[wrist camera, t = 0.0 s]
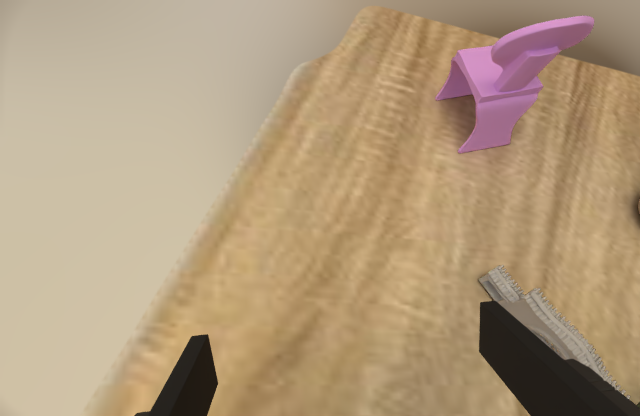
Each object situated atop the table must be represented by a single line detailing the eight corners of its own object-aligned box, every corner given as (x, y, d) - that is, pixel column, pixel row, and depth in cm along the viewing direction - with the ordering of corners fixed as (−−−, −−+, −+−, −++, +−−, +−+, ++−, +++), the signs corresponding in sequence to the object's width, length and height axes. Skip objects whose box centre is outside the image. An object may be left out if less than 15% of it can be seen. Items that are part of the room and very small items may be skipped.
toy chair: (488, 86, 41) (572, -46, 27) (517, 142, 37) (631, 25, 24) (425, 96, 40) (478, -32, 26) (450, 155, 37) (525, 42, 23)
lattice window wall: (473, 278, 31) (504, 265, 26) (487, 269, 32) (521, 254, 26) (566, 400, 27) (627, 415, 22) (581, 388, 28) (645, 400, 22)
